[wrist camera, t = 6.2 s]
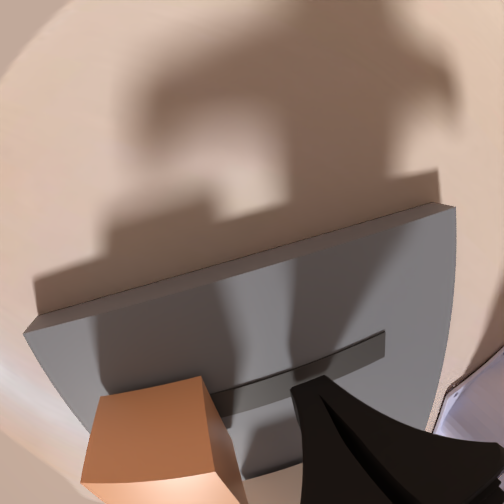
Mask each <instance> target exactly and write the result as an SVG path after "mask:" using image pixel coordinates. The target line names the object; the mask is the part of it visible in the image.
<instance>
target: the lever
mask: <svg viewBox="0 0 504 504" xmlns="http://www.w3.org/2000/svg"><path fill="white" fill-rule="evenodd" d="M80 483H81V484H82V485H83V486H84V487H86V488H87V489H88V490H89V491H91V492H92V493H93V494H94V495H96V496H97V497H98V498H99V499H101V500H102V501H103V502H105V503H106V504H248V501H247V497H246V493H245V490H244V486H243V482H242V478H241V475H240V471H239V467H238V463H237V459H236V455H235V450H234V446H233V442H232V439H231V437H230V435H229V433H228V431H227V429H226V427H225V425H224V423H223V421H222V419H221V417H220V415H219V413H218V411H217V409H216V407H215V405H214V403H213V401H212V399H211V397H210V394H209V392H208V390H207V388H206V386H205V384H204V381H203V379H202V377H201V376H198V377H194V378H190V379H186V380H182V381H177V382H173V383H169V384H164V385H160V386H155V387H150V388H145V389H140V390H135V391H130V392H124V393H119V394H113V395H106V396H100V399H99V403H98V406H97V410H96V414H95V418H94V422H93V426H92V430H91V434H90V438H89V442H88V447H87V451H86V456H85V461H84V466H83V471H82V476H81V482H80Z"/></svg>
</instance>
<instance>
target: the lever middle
mask: <svg viewBox="0 0 504 504" xmlns="http://www.w3.org/2000/svg"><path fill="white" fill-rule="evenodd" d="M302 474H303V463H300V464H298V465H295V466H292V467H289V468H286V469H283V470H279V471H276V472H273V473H270V474H266V475H263V476H259V477H255V478H252V479H248V480H244V481H242V482H243V486H244V490H245V493H246V497H247V501H248V504H300V500H301V490H302Z"/></svg>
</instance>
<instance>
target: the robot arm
mask: <svg viewBox="0 0 504 504" xmlns="http://www.w3.org/2000/svg"><path fill="white" fill-rule="evenodd" d="M290 393H291V398H292V402H293V406H294V411H295V415H296V419H297V422H298V424H299V427H300V430H301V436H302V452H303V474H302V490H301V500H300V504H504V347H503V348H502V349H501V350H500V351H499V352H497V353H496V354H495V355H494V356H493V357H492V358H491V359H490V360H489V361H487V362H486V363H485V364H484V365H483V366H482V367H481V368H479V369H478V370H477V371H476V372H475V373H473V374H472V375H471V376H470V377H468V378H467V379H466V380H465V381H463V382H462V383H461V384H459V385H458V386H457V387H456V388H454V389H453V390H452V391H450V392H449V393H448V394H447V395H446V397H445V400H444V403H443V406H442V409H441V412H440V415H439V418H438V421H437V424H436V426H435V429H434V432H433V433H429V432H426V431H423V430H420V429H417V428H414V427H412V426H409V425H406V424H404V423H402V422H399V421H397V420H395V419H393V418H391V417H389V416H387V415H385V414H383V413H381V412H379V411H377V410H375V409H374V408H372V407H370V406H369V405H367V404H365V403H364V402H362V401H360V400H359V399H357V398H356V397H354V396H353V395H351V394H350V393H349V392H347V391H346V390H344V389H343V388H342V387H340V386H339V385H338V384H336V383H335V382H334V381H333V380H331V379H330V378H329V377H328V376H326V375H322V376H320V377H317V378H314V379H312V380H309V381H307V382H304V383H301V384H299V385H296V386H293V387H292V388H291V389H290ZM500 476H501V477H500ZM499 477H500V478H499ZM498 478H499V479H498Z"/></svg>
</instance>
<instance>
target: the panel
mask: <svg viewBox="0 0 504 504" xmlns="http://www.w3.org/2000/svg"><path fill="white" fill-rule="evenodd" d="M455 268H456V207H453V206H449V205H444V204H439V203H434V202H432V203H429V204H425V205H422V206H418V207H415V208H412V209H408V210H405V211H401V212H398V213H395V214H391V215H388V216H384V217H381V218H377V219H374V220H371V221H367V222H364V223H360V224H357V225H353V226H350V227H346V228H343V229H340V230H336V231H333V232H329V233H326V234H322V235H319V236H315V237H312V238H309V239H305V240H302V241H298V242H295V243H291V244H288V245H284V246H281V247H277V248H274V249H270V250H267V251H264V252H260V253H257V254H253V255H250V256H246V257H243V258H239V259H236V260H232V261H229V262H225V263H222V264H218V265H215V266H211V267H208V268H204V269H201V270H197V271H194V272H190V273H187V274H183V275H180V276H177V277H173V278H170V279H166V280H163V281H159V282H156V283H152V284H148V285H145V286H141V287H138V288H134V289H131V290H127V291H124V292H120V293H117V294H113V295H110V296H106V297H103V298H99V299H96V300H92V301H89V302H85V303H82V304H78V305H75V306H71V307H68V308H64V309H60V310H57V311H53V312H50V313H46V314H43V315H39V316H37V317H36V318H35V320H34V321H33V322H32V323H31V324H30V326H29V327H28V328H27V329H26V330H25V332H24V333H23V335H24V337H25V339H26V341H27V343H28V345H29V346H30V348H31V350H32V352H33V353H34V355H35V357H36V359H37V360H38V362H39V364H40V365H41V367H42V368H43V370H44V372H45V373H46V375H47V376H48V378H49V379H50V381H51V382H52V384H53V385H54V387H55V388H56V390H57V391H58V393H59V394H60V396H61V397H62V398H63V400H64V401H65V403H66V404H67V405H68V407H69V408H70V409H71V411H72V412H73V413H74V415H75V416H76V417H77V418H78V420H79V421H80V422H81V423H82V425H83V426H84V427H85V428H86V430H87V431H88V432H89V433H90V434H91V430H92V426H93V422H94V418H95V414H96V410H97V406H98V403H99V399H100V396H106V395H113V394H119V393H124V392H130V391H135V390H140V389H145V388H150V387H155V386H160V385H164V384H169V383H173V382H177V381H182V380H186V379H190V378H194V377H198V376H201V377H202V379H203V381H204V384H205V386H206V388H207V390H208V392H209V394H210V397H211V399H212V401H213V403H214V405H215V407H216V409H217V411H218V413H219V415H220V417H221V419H222V421H223V423H224V425H225V427H226V429H227V431H228V433H229V435H230V437H231V439H232V442H233V446H234V450H235V455H236V459H237V463H238V467H239V471H240V475H241V478H242V481H244V480H248V479H252V478H255V477H259V476H263V475H266V474H270V473H273V472H276V471H279V470H283V469H286V468H289V467H292V466H295V465H298V464H300V463H303V452H302V436H301V430H300V427H299V424H298V422H297V419H296V415H295V411H294V406H293V402H292V398H291V393H290V389H291V388H292V387H293V386H296V385H299V384H301V383H304V382H307V381H309V380H312V379H314V378H317V377H320V376H322V375H326V376H328V377H329V378H330V379H331V380H333V381H334V382H335V383H336V384H338V385H339V386H340V387H342V388H343V389H344V390H346V391H347V392H349V393H350V394H351V395H353V396H354V397H356V398H357V399H359V400H360V401H362V402H364V403H365V404H367V405H369V406H370V407H372V408H374V409H375V410H377V411H379V412H381V413H383V414H385V415H387V416H389V417H391V418H393V419H395V420H397V421H399V422H402V423H404V424H406V425H409V426H412V427H414V428H417V429H420V430H423V431H425V428H426V425H427V422H428V419H429V415H430V412H431V409H432V405H433V402H434V398H435V395H436V391H437V387H438V383H439V379H440V375H441V370H442V366H443V361H444V356H445V351H446V346H447V340H448V334H449V327H450V321H451V313H452V304H453V295H454V283H455Z"/></svg>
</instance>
